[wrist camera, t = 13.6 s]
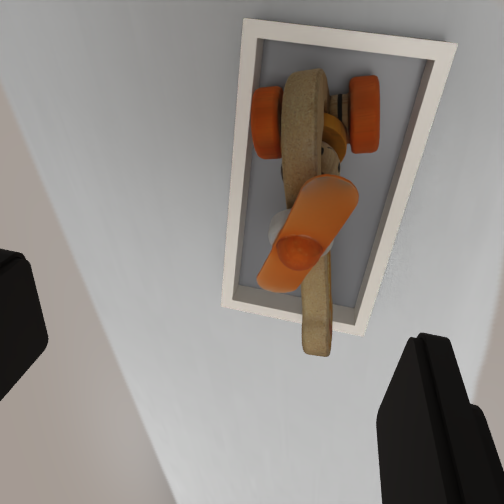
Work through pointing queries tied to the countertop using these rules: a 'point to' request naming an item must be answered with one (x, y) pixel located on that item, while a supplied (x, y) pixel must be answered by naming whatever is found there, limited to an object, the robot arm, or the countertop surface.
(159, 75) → the countertop surface
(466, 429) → the robot arm
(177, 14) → the countertop surface
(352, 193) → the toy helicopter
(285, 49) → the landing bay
